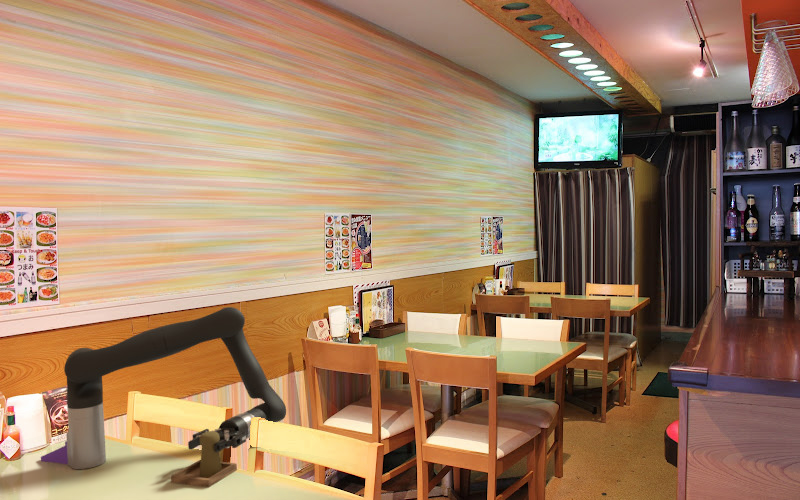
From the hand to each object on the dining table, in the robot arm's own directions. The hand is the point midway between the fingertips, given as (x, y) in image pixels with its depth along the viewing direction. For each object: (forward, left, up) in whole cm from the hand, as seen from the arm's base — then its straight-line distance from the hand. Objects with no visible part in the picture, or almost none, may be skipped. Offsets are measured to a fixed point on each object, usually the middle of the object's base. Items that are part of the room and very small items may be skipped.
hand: (202, 447), depth 167 cm
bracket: (-51, +1, -9) cm, 51 cm away
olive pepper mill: (+1, +1, -8) cm, 8 cm away
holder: (0, 0, -8) cm, 8 cm away
